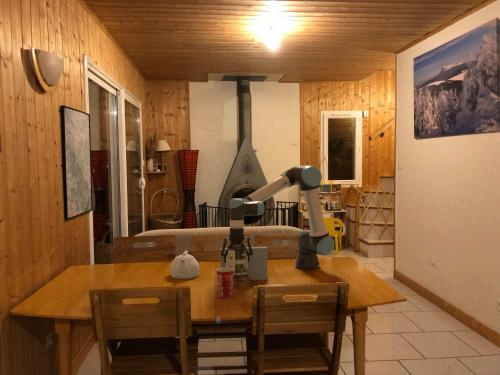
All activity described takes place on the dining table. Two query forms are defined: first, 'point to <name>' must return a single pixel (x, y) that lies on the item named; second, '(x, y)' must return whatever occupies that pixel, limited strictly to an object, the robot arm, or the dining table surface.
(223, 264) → the backboard
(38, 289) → the dining table surface
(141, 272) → the dining table surface
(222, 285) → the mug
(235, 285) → the cleat ledge
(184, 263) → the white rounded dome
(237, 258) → the coffee can
